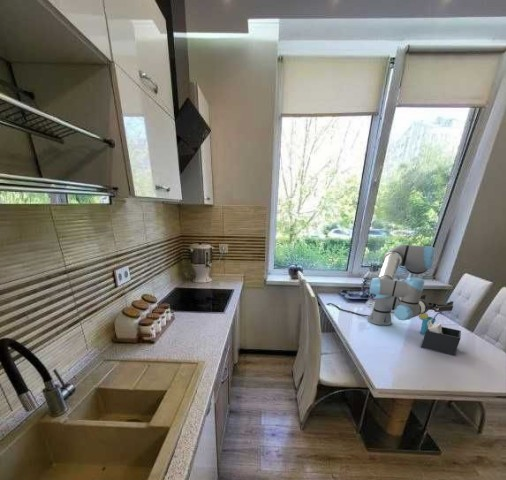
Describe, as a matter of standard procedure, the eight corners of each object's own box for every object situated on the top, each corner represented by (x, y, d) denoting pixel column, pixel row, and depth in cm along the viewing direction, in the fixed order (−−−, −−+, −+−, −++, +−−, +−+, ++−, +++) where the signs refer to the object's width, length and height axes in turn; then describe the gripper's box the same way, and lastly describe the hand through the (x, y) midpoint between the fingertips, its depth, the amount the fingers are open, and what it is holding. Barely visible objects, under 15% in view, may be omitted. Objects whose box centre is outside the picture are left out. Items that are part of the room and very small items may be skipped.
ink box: (441, 346, 159) (436, 321, 157) (431, 346, 162) (426, 322, 160) (444, 341, 164) (439, 317, 162) (435, 342, 168) (430, 319, 166)
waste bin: (420, 347, 163) (425, 330, 158) (423, 339, 173) (428, 323, 168) (454, 355, 154) (460, 338, 150) (455, 347, 164) (461, 330, 159)
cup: (434, 331, 185) (440, 310, 178) (440, 336, 178) (447, 314, 171) (412, 330, 186) (418, 309, 180) (417, 335, 179) (424, 313, 173)
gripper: (392, 307, 147) (412, 301, 158) (442, 322, 128) (461, 314, 139) (395, 294, 143) (416, 288, 154) (447, 307, 125) (467, 299, 136)
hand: (437, 300), depth 147 cm, fingers open, 13 cm apart
